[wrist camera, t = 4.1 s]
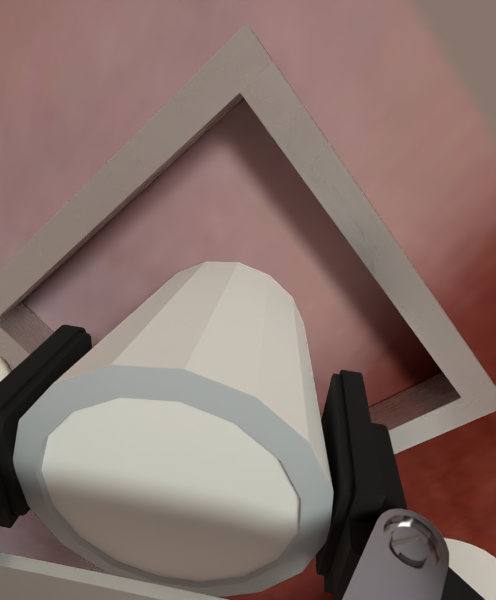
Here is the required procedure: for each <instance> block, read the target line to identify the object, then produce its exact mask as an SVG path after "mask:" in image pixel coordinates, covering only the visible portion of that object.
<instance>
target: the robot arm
mask: <svg viewBox="0 0 496 600" xmlns="http://www.w3.org/2000/svg"><path fill="white" fill-rule="evenodd" d="M91 349H92V344H91V336H90V334H88V333H86V331H85V329H84V328H82V327H76V326H70V325H62V326H61V327H60V328H59V329H57V330H56V331H55V332H54V333H53V334H52V335H51V336H50V337H49V338H48V339H46V340H45V341H44V342H43V343H42V344H41V345H40V346H39V347H38V348H37V349H36V350H34V351H33V352H32V353H31V354H30V355H29V356H28V357H27V358H26V359H25V360H23V361H22V362H21V363H20V364H19V365H18V366H17V367H16V368H15V369H14V370H12V371H11V372H10V373H9V374H8V375H7V376H6V377H5V378H4V379H3V380H1V381H0V526H2V527H7V528H11V527H12V526H13V524H14V523H15V521H16V520H17V518H18V517H19V515H25V514H26V513H27V512H28V511H29V510H30V508H29V506H28V504H27V501H26V499H25V496H24V493H23V491H22V488H21V485H20V483H19V480H18V477H17V475H16V471H15V467H14V463H13V455H14V448H15V442H16V435H17V429H18V423H19V419H20V418H21V417H22V416H23V415H24V414H25V413H26V412H27V411H28V410H29V409H30V408H31V407H32V405H33V404H34V403H35V402H36V401H37V400H38V399H39V398H40V397H41V396H42V395H43V394H44V393H45V391H46V390H47V389H48V388H49V387H50V386H51V385H52V384H53V383H54V382H55V381H56V380H58V379H59V378H60V377H61V376H62V375H63V374H64V373H65V372H67V371H68V370H69V369H70V368H71V367H72V366H73V365H74V364H75V363H77V362H78V361H79V360H80V359H81V358H82V357H83V356H84V355H86V354H87V353H88V352H89V351H90V350H91ZM321 424H322V430H323V435H324V441H325V447H326V452H327V458H328V464H329V469H330V475H331V481H332V487H333V492H334V494H333V504H332V515H331V525H330V529H329V533H328V536H327V539H326V543H325V544H324V545H323V546H322V548H321V549H320V550H319V552H318V553H317V554H316V571H317V574H318V575H323V576H324V584H325V592H328V593H333V599H334V600H485V599H484V598H483V597H482V596H481V595H479V594H478V593H477V592H476V591H475V590H474V589H473V588H472V587H471V586H470V585H469V584H467V583H466V582H465V581H464V580H463V579H462V578H461V577H460V576H459V575H458V574H456V573H455V572H454V571H453V570H452V569H451V568H450V567H449V550H448V547H447V544H446V541H445V540H444V538H443V536H442V535H441V533H440V532H439V531H438V529H437V528H436V527H435V526H434V525H433V524H432V523H431V522H429V521H428V520H427V519H425V518H424V517H422V516H421V515H419V514H417V513H414V512H412V511H410V510H407V505H406V501H405V497H404V493H403V489H402V485H401V481H400V476H399V472H398V468H397V464H396V460H395V456H394V452H393V447H392V443H391V439H390V435H389V431H388V428H387V426H386V425H383V424H377V423H372V422H371V417H370V412H369V407H368V402H367V397H366V391H365V386H364V381H363V376H362V373H359V372H352V371H346V370H341V371H340V374H333V375H332V378H331V383H330V387H329V391H328V395H327V399H326V403H325V407H324V412H323V416H322V420H321ZM0 600H228V599H223V598H218V597H214V596H209V595H204V594H199V593H195V592H190V591H185V590H181V589H176V588H171V587H167V586H162V585H157V584H152V583H148V582H143V581H138V580H133V579H128V578H123V577H119V576H114V575H109V574H104V573H99V572H95V571H90V570H85V569H80V568H75V567H70V566H66V565H61V564H56V563H51V562H46V561H41V560H36V559H31V558H27V557H22V556H17V555H12V554H7V553H2V552H0Z"/></svg>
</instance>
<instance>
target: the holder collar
mask: <svg viewBox="0 0 496 600" xmlns="http://www.w3.org/2000/svg"><path fill="white" fill-rule="evenodd" d="M243 98H244V99H245V100H246V101H247V103H248V104H249V106H250V107H251V108H252V110H253V111H254V112H255V114H256V115H257V117H258V118H259V119H260V121H261V122H262V123H263V125H264V126H265V128H266V129H267V130H268V132H269V133H270V134H271V136H272V137H273V139H274V140H275V141H276V143H277V144H278V146H279V147H280V148H281V150H282V151H283V152H284V154H285V155H286V157H287V158H288V159H289V161H290V162H291V163H292V165H293V166H294V168H295V169H296V170H297V172H298V173H299V174H300V176H301V177H302V179H303V180H304V181H305V183H306V184H307V185H308V187H309V188H310V190H311V191H312V192H313V194H314V195H315V197H316V198H317V199H318V201H319V202H320V203H321V205H322V206H323V208H324V209H325V210H326V212H327V213H328V214H329V216H330V217H331V219H332V220H333V221H334V223H335V224H336V225H337V227H338V228H339V230H340V231H341V232H342V234H343V235H344V236H345V238H346V239H347V241H348V242H349V243H350V245H351V246H352V247H353V249H354V250H355V252H356V253H357V254H358V256H359V257H360V259H361V260H362V261H363V263H364V264H365V265H366V267H367V268H368V270H369V271H370V272H371V274H372V275H373V276H374V278H375V279H376V281H377V282H378V283H379V285H380V286H381V287H382V289H383V290H384V292H385V293H386V294H387V296H388V297H389V298H390V300H391V301H392V303H393V304H394V305H395V307H396V308H397V310H398V311H399V312H400V314H401V315H402V316H403V318H404V319H405V321H406V322H407V323H408V325H409V326H410V327H411V329H412V330H413V332H414V333H415V334H416V336H417V337H418V338H419V340H420V341H421V343H422V344H423V345H424V347H425V348H426V349H427V351H428V352H429V354H430V355H431V356H432V358H433V359H434V361H435V362H436V363H437V365H438V366H439V367H440V369H441V370H442V372H441V373H439V374H437V375H435V376H433V377H431V378H429V379H427V380H425V381H423V382H421V383H419V384H417V385H415V386H413V387H411V388H409V389H406V390H404V391H402V392H400V393H398V394H396V395H394V396H392V397H390V398H388V399H386V400H384V401H382V402H380V403H378V404H376V405H373V406H371V407H369V412H370V417H371V422H372V423H377V424H383V425H386V426H387V428H388V431H389V435H390V439H391V443H392V447H393V452H394V454H396V453H398V452H400V451H403V450H405V449H407V448H410V447H412V446H414V445H417V444H419V443H421V442H424V441H426V440H428V439H431V438H433V437H435V436H438V435H440V434H442V433H445V432H447V431H450V430H452V429H454V428H457V427H459V426H461V425H464V424H466V423H468V422H471V421H473V420H475V419H478V418H480V417H482V416H485V415H487V414H489V413H492V412H494V411H496V386H495V384H494V383H493V381H492V380H491V378H490V377H489V375H488V374H487V372H486V371H485V370H484V368H483V367H482V365H481V364H480V362H479V361H478V359H477V358H476V356H475V355H474V353H473V352H472V351H471V349H470V348H469V346H468V345H467V343H466V342H465V340H464V339H463V337H462V336H461V334H460V333H459V332H458V330H457V329H456V327H455V326H454V324H453V323H452V321H451V320H450V318H449V317H448V315H447V314H446V313H445V311H444V310H443V308H442V307H441V305H440V304H439V302H438V301H437V299H436V298H435V297H434V295H433V294H432V292H431V291H430V289H429V288H428V286H427V285H426V283H425V282H424V280H423V279H422V278H421V276H420V275H419V273H418V272H417V270H416V269H415V267H414V266H413V264H412V263H411V261H410V260H409V259H408V257H407V256H406V254H405V253H404V251H403V250H402V248H401V247H400V245H399V244H398V242H397V241H396V240H395V238H394V237H393V235H392V234H391V232H390V231H389V229H388V228H387V226H386V225H385V224H384V222H383V221H382V219H381V218H380V216H379V215H378V213H377V212H376V210H375V209H374V207H373V206H372V205H371V203H370V202H369V200H368V199H367V197H366V196H365V194H364V193H363V191H362V190H361V188H360V187H359V186H358V184H357V183H356V181H355V180H354V178H353V177H352V175H351V174H350V172H349V171H348V169H347V168H346V167H345V165H344V164H343V162H342V161H341V159H340V158H339V156H338V155H337V153H336V152H335V151H334V149H333V148H332V146H331V145H330V143H329V142H328V140H327V139H326V137H325V136H324V134H323V133H322V132H321V130H320V129H319V127H318V126H317V124H316V123H315V121H314V120H313V118H312V117H311V115H310V114H309V113H308V111H307V110H306V108H305V107H304V105H303V104H302V102H301V101H300V99H299V98H298V96H297V95H296V94H295V92H294V91H293V89H292V88H291V86H290V85H289V83H288V82H287V80H286V79H285V78H284V76H283V75H282V73H281V72H280V70H279V69H278V67H277V66H276V64H275V63H274V61H273V60H272V59H271V57H270V56H269V54H268V53H267V51H266V50H265V48H264V47H263V45H262V44H261V42H260V41H259V40H258V38H257V37H256V35H255V34H254V32H253V31H252V30H251V29H250V27H249V26H248V25H247V24H246V23H245V24H244V25H243V26H242V27H241V28H240V29H239V30H238V31H237V32H236V33H235V34H234V35H233V36H232V37H231V38H230V39H229V40H228V41H227V42H226V43H225V44H224V45H223V46H222V47H221V48H220V49H219V50H218V51H217V52H216V53H215V54H214V55H213V56H212V57H211V58H210V59H209V60H208V61H207V62H206V63H205V64H204V65H203V66H202V67H201V68H200V69H199V70H198V71H197V72H196V73H195V74H194V75H193V76H192V77H191V78H190V79H189V80H188V81H187V82H186V83H185V84H184V85H183V86H182V87H181V88H180V89H179V90H178V91H177V92H176V93H175V94H174V95H173V96H172V97H171V98H170V99H169V100H168V101H167V102H166V103H165V104H164V105H163V106H162V107H161V108H160V109H159V110H158V111H157V112H156V113H155V114H154V115H153V116H152V117H151V118H150V119H149V120H148V121H147V122H146V123H145V124H144V126H143V127H142V128H141V129H140V130H139V131H138V132H137V133H136V134H135V135H134V136H133V137H132V138H131V139H130V140H129V141H128V142H127V143H126V144H125V145H124V146H123V147H122V148H121V149H120V150H119V151H118V152H117V153H116V154H115V155H114V156H113V157H112V158H111V159H110V160H109V161H108V162H107V163H106V164H105V165H104V166H103V167H102V168H101V169H100V170H99V171H98V172H97V173H96V174H95V175H94V176H93V177H92V178H91V179H90V180H89V181H88V182H87V183H86V184H85V185H84V186H83V187H82V188H81V189H80V190H79V191H78V192H77V193H76V194H75V195H74V196H73V197H72V198H71V199H70V200H69V201H68V202H67V203H66V204H65V205H64V206H63V207H62V208H61V209H60V210H59V211H58V212H57V213H56V214H55V215H54V216H53V217H52V218H51V219H50V220H49V221H48V222H47V223H46V224H45V225H44V226H43V227H42V228H41V229H40V230H39V231H38V232H37V233H36V234H35V235H34V236H33V237H32V238H31V239H30V240H29V241H28V242H27V243H26V244H25V245H24V246H23V247H22V248H21V249H20V250H19V251H18V252H17V253H16V254H15V255H14V256H13V257H12V258H11V259H10V260H9V261H8V262H7V263H6V264H5V265H4V266H3V267H2V268H1V269H0V356H1V357H3V358H4V359H5V360H6V361H7V362H8V363H9V364H10V365H12V366H13V367H14V368H16V367H17V366H18V365H19V364H20V363H21V362H22V361H23V360H25V359H26V358H27V357H28V356H29V355H30V354H31V353H32V352H33V351H34V350H36V349H37V348H38V347H39V346H40V345H41V344H42V343H43V342H44V341H45V340H46V339H48V338H49V337H50V336H51V335H52V334H53V332H52V331H51V330H50V329H49V328H48V327H47V326H46V325H45V324H44V323H43V322H42V321H41V320H40V319H38V318H37V317H36V316H35V315H34V314H33V313H32V312H31V311H30V310H29V309H28V308H27V307H26V306H25V305H24V304H23V303H22V301H23V300H24V299H25V298H26V297H27V296H28V295H29V294H30V293H32V292H33V291H34V290H35V289H36V288H37V287H38V286H39V285H40V284H41V283H42V282H44V281H45V280H46V279H47V278H48V277H49V276H50V275H51V274H52V273H53V272H54V271H55V270H57V269H58V268H59V267H60V266H61V265H62V264H63V263H64V262H65V261H66V260H67V259H69V258H70V257H71V256H72V255H73V254H74V253H75V252H76V251H77V250H78V249H79V248H80V247H82V246H83V245H84V244H85V243H86V242H87V241H88V240H89V239H90V238H91V237H92V236H94V235H95V234H96V233H97V232H98V231H99V230H100V229H101V228H102V227H103V226H104V225H106V224H107V223H108V222H109V221H110V220H111V219H112V218H113V217H114V216H115V215H116V214H117V213H119V212H120V211H121V210H122V209H123V208H124V207H125V206H126V205H127V204H128V203H129V202H131V201H132V200H133V199H134V198H135V197H136V196H137V195H138V194H139V193H140V192H141V191H142V190H144V189H145V188H146V187H147V186H148V185H149V184H150V183H151V182H152V181H153V180H154V179H156V178H157V177H158V176H159V175H160V174H161V173H162V172H163V171H164V170H165V169H166V168H168V167H169V166H170V165H171V164H172V163H173V162H174V161H175V160H176V159H177V158H178V157H179V156H181V155H182V154H183V153H184V152H185V151H186V150H187V149H188V148H189V147H190V146H191V145H193V144H194V143H195V142H196V141H197V140H198V139H199V138H200V137H201V136H202V135H203V134H204V133H206V132H207V131H208V130H209V129H210V128H211V127H212V126H213V125H214V124H215V123H216V122H218V121H219V120H220V119H221V118H222V117H223V116H224V115H225V114H226V113H227V112H228V111H230V110H231V109H232V108H233V107H234V106H235V105H236V104H237V103H238V102H239V101H240V100H241V99H243Z"/></svg>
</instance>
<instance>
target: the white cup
mask: <svg viewBox="0 0 496 600" xmlns="http://www.w3.org/2000/svg"><path fill="white" fill-rule="evenodd" d="M13 463H14V467H15V471H16V475H17V477H18V480H19V483H20V485H21V488H22V491H23V493H24V496H25V499H26V501H27V504H28V506H29V508H30V509H31V510H32V511H33V512H34V513H35V514H36V515H37V517H38V518H39V519H40V520H41V521H42V522H43V523H44V525H45V526H46V527H47V528H48V529H49V530H50V531H51V532H52V534H53V535H54V536H55V537H56V538H57V539H58V540H59V542H60V543H61V544H63V545H64V546H66V547H67V548H69V549H70V550H72V551H73V552H75V553H77V554H78V555H80V556H81V557H83V558H84V559H86V560H87V561H89V562H90V563H92V564H93V565H95V566H96V567H98V568H100V569H101V570H103V571H104V572H106V573H108V574H111V575H114V576H119V577H123V578H128V579H133V580H138V581H143V582H148V583H152V584H157V585H162V586H167V587H171V588H176V589H181V590H185V591H190V592H195V593H199V594H204V595H209V596H214V597H222V596H230V595H239V594H247V593H255V592H261V591H263V590H265V589H267V588H269V587H271V586H274V585H276V584H278V583H280V582H282V581H284V580H286V579H288V578H290V577H292V576H295V575H297V574H299V573H301V572H303V570H304V569H305V568H306V567H307V565H308V564H309V563H310V562H311V560H312V559H313V558H314V557H315V555H316V554H317V553H318V552H319V550H320V549H321V548H322V546H323V545H324V544H325V543H326V539H327V536H328V533H329V529H330V525H331V515H332V504H333V494H334V492H333V487H332V481H331V475H330V469H329V464H328V458H327V452H326V447H325V441H324V435H323V430H322V424H321V418H320V412H319V407H318V401H317V395H316V390H315V384H314V378H313V373H312V367H311V361H310V355H309V350H308V344H307V338H306V333H305V327H304V323H303V321H302V318H301V316H300V314H299V311H298V309H297V307H296V304H295V302H294V300H293V297H292V296H291V295H290V294H289V293H288V292H287V291H286V290H285V289H283V288H282V287H281V286H280V285H279V284H278V283H277V282H276V281H275V280H274V279H273V278H272V277H271V276H270V275H268V274H266V273H263V272H261V271H258V270H256V269H254V268H251V267H249V266H246V265H244V264H241V263H239V262H203V263H201V264H198V265H196V266H193V267H190V268H188V269H185V270H183V271H180V272H177V273H176V274H175V275H174V276H173V277H172V278H171V279H170V280H168V281H167V282H166V283H165V284H164V285H163V286H162V287H161V288H159V289H158V290H157V291H156V292H155V293H154V294H153V295H152V296H150V297H149V298H148V299H147V300H146V301H145V302H144V303H143V304H142V305H140V306H139V307H138V308H137V309H136V310H135V311H134V312H133V313H131V314H130V315H129V316H128V317H127V318H126V319H125V320H124V321H123V322H121V323H120V324H119V325H118V326H117V327H116V328H115V329H114V330H112V331H111V332H110V333H109V334H108V335H107V336H106V337H105V338H103V339H102V340H101V341H100V342H99V343H98V344H97V345H96V346H95V347H93V348H92V349H91V350H90V351H89V352H88V353H87V354H86V355H84V356H83V357H82V358H81V359H80V360H79V361H78V362H77V363H75V364H74V365H73V366H72V367H71V368H70V369H69V370H68V371H67V372H65V373H64V374H63V375H62V376H61V377H60V378H59V379H58V380H56V381H55V382H54V383H53V384H52V385H51V386H50V387H49V388H48V389H47V390H46V391H45V393H44V394H43V395H42V396H41V397H40V398H39V399H38V400H37V401H36V402H35V403H34V404H33V405H32V407H31V408H30V409H29V410H28V411H27V412H26V413H25V414H24V415H23V416H22V417H21V418H20V419H19V423H18V429H17V435H16V442H15V448H14V455H13Z"/></svg>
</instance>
